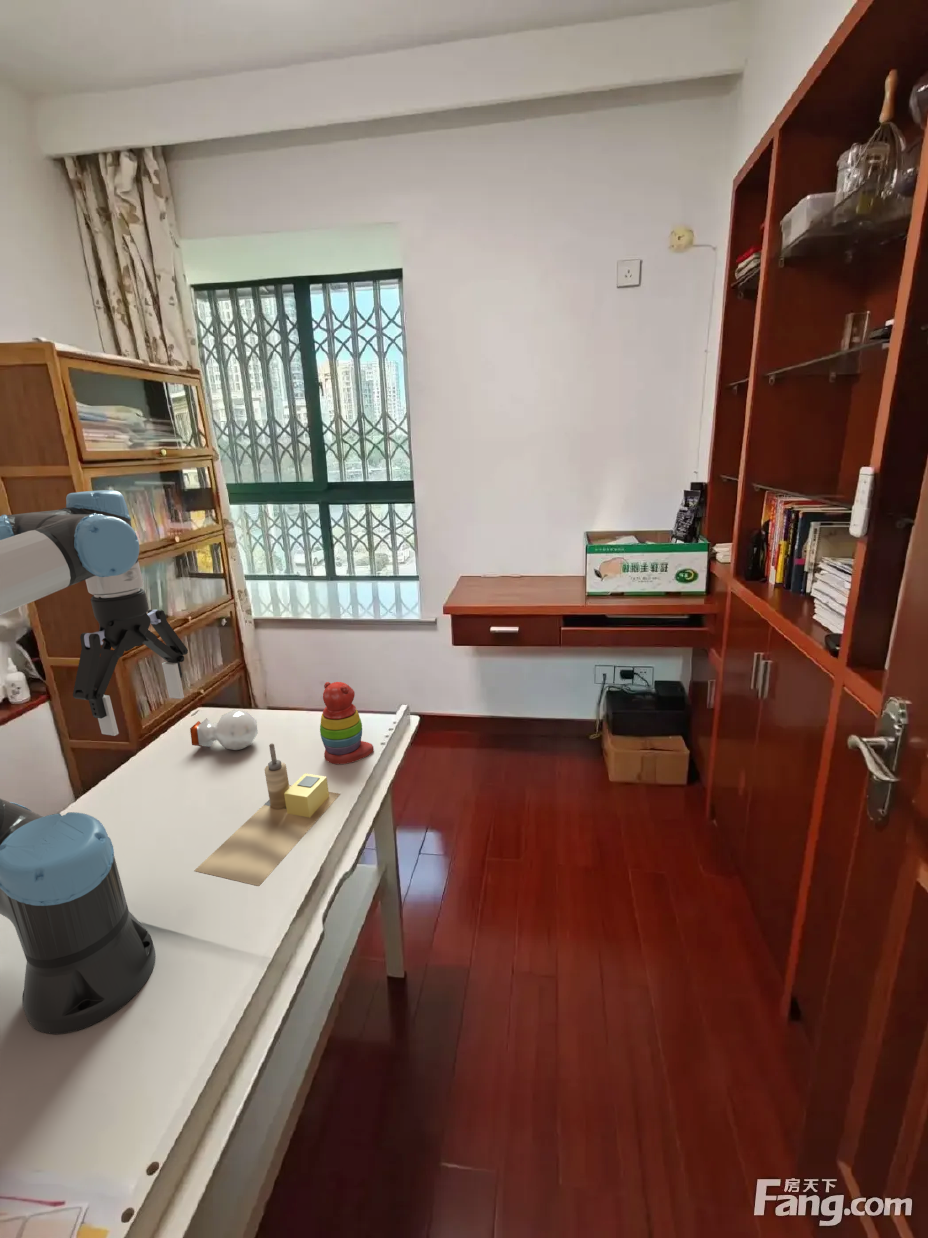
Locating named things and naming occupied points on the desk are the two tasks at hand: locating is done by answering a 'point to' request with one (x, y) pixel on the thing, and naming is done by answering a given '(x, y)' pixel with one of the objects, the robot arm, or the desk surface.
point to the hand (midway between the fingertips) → (145, 714)
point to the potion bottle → (226, 731)
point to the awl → (276, 780)
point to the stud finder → (306, 795)
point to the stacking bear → (342, 726)
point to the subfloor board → (260, 844)
